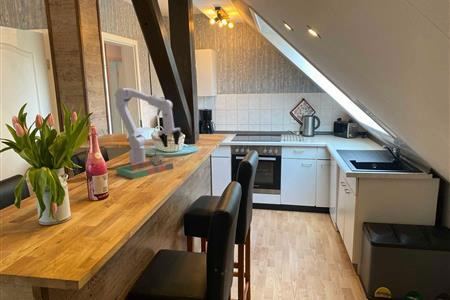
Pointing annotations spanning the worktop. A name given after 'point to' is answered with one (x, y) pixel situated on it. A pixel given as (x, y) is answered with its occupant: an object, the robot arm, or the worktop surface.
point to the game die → (157, 160)
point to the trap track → (128, 173)
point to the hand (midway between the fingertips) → (171, 145)
